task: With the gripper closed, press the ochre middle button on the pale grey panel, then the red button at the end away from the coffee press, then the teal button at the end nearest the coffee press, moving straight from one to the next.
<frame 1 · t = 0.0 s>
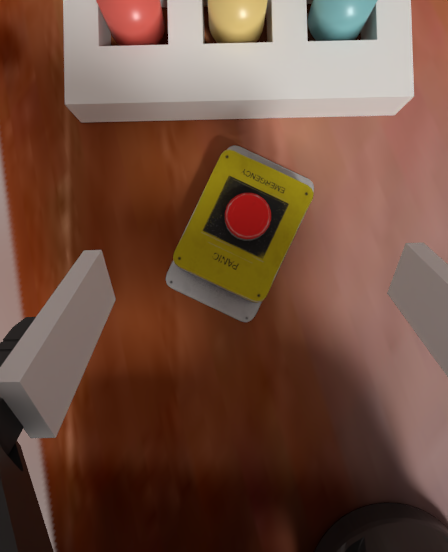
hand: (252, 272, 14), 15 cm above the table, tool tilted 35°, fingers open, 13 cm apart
button panel: (235, 36, 29), on the table
ochre button: (237, 6, 26), point 3 cm above the table, slide at 0.0 cm
teal button: (342, 3, 26), point 3 cm above the table, slide at 0.0 cm
emergency button: (239, 234, 30), on the table
red button: (131, 8, 26), point 3 cm above the table, slide at 0.0 cm
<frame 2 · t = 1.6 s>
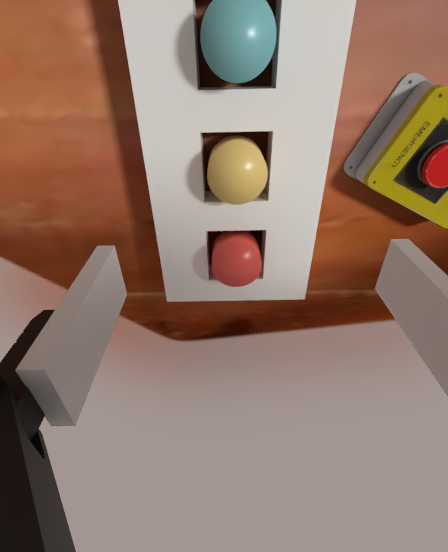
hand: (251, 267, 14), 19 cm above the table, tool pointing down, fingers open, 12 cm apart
button panel: (235, 159, 29), on the table
ochre button: (236, 169, 27), point 3 cm above the table, slide at 0.0 cm
teal button: (237, 39, 22), point 3 cm above the table, slide at 0.0 cm
emergency button: (427, 158, 30), on the table
red button: (236, 257, 32), point 3 cm above the table, slide at 0.0 cm
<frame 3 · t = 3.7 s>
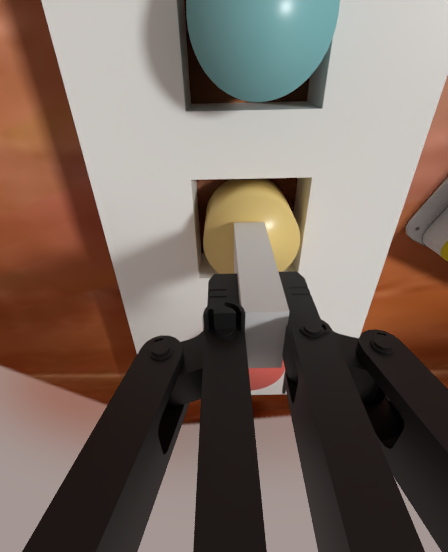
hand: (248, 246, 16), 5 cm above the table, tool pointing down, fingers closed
button panel: (246, 211, 19), on the table
ochre button: (249, 229, 17), point 3 cm above the table, slide at 0.7 cm, touching gripper
teal button: (257, 20, 11), point 3 cm above the table, slide at 0.0 cm
red button: (246, 348, 22), point 3 cm above the table, slide at 0.0 cm
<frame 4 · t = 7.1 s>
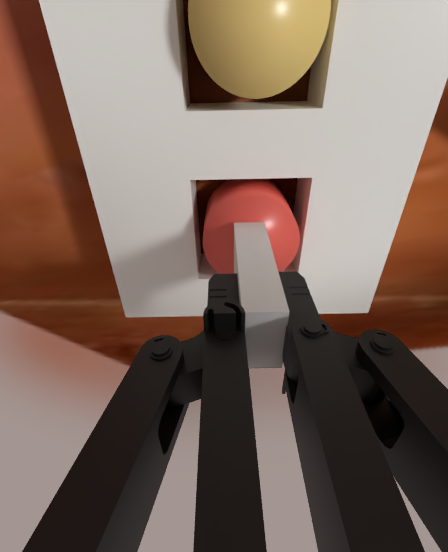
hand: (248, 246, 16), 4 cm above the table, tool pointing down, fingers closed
button panel: (250, 27, 14), on the table
ochre button: (254, 22, 12), point 2 cm above the table, slide at 1.0 cm
red button: (248, 228, 17), point 2 cm above the table, slide at 0.9 cm, touching gripper
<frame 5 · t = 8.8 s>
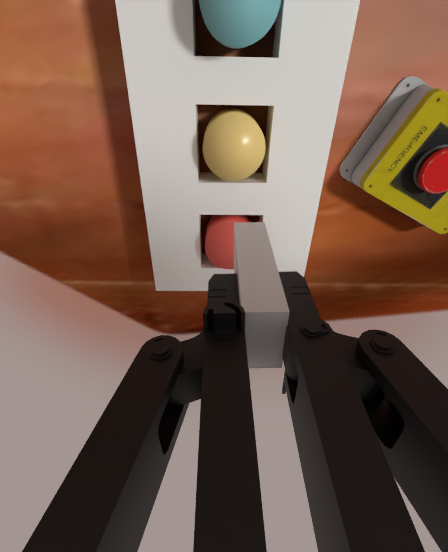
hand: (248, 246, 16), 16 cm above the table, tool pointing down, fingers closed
button panel: (232, 139, 28), on the table
ochre button: (233, 144, 26), point 2 cm above the table, slide at 1.0 cm
emergency button: (423, 163, 30), on the table
red button: (230, 239, 31), point 2 cm above the table, slide at 1.0 cm
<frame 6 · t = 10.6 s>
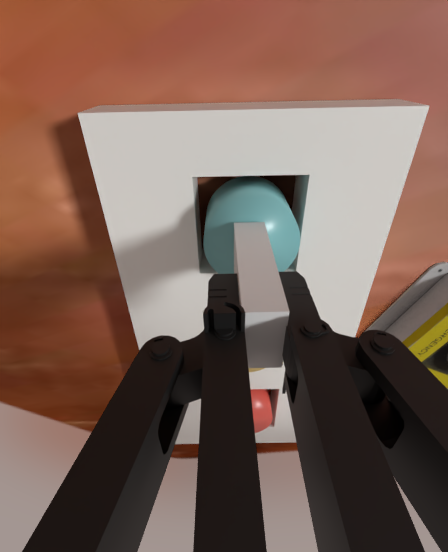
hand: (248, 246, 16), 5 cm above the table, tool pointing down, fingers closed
button panel: (243, 312, 25), on the table
ochre button: (244, 332, 23), point 2 cm above the table, slide at 1.0 cm
teal button: (249, 229, 17), point 3 cm above the table, slide at 0.2 cm, touching gripper
red button: (242, 401, 28), point 2 cm above the table, slide at 1.0 cm
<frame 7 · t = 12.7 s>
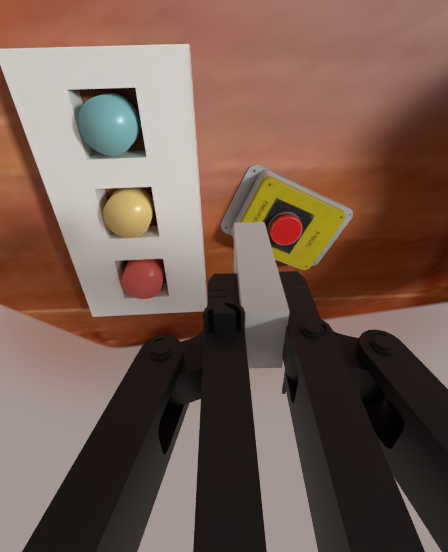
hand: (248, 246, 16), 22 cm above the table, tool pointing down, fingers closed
button panel: (133, 203, 37), on the table
ochre button: (130, 211, 35), point 2 cm above the table, slide at 1.0 cm
teal button: (111, 124, 30), point 2 cm above the table, slide at 1.0 cm
emergency button: (285, 218, 40), on the table
red button: (143, 275, 40), point 2 cm above the table, slide at 1.0 cm
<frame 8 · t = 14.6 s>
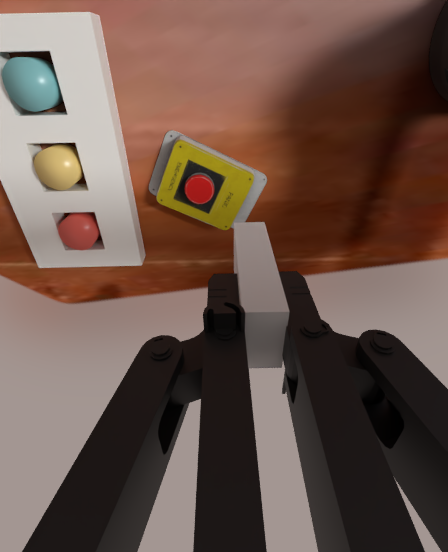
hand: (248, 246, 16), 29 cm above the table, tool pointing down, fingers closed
button panel: (68, 161, 41), on the table
ochre button: (61, 166, 40), point 2 cm above the table, slide at 1.0 cm
teal button: (35, 84, 34), point 2 cm above the table, slide at 1.0 cm
emergency button: (207, 182, 44), on the table
red button: (81, 229, 45), point 2 cm above the table, slide at 1.0 cm
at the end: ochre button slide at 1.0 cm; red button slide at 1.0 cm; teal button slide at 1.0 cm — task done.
